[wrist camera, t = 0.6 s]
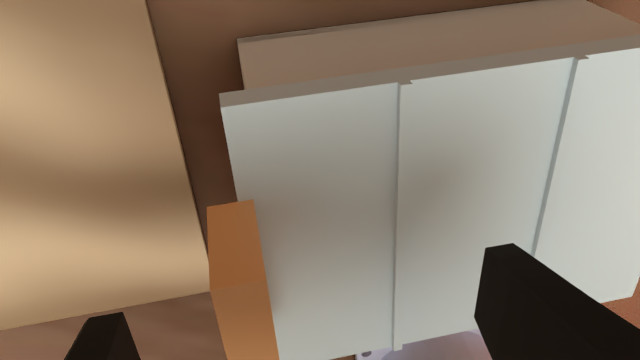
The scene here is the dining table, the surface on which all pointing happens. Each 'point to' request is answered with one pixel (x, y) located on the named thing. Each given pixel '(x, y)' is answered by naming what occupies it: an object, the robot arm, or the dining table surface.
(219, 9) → the dining table surface
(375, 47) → the tub
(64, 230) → the cork mat
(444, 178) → the lid
